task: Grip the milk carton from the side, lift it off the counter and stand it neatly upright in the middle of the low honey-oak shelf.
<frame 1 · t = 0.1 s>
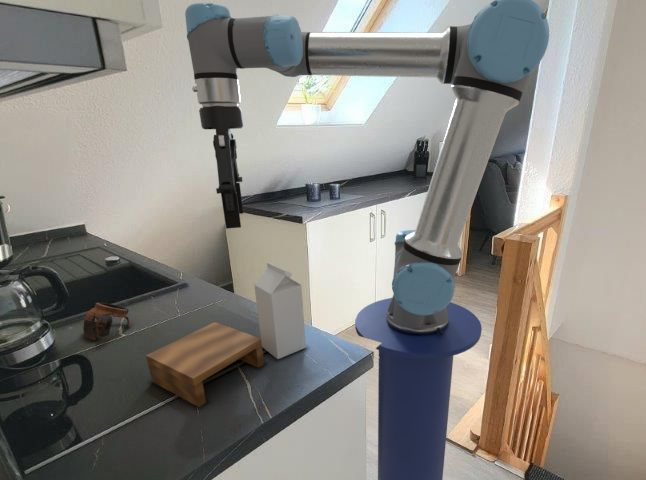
hand: (235, 220, 82), 28 cm above the counter, tool pointing down, fingers open, 13 cm apart
oak shelf: (210, 372, 80), on the counter
pottery mug: (108, 333, 97), on the counter
milk carton: (283, 348, 89), on the counter
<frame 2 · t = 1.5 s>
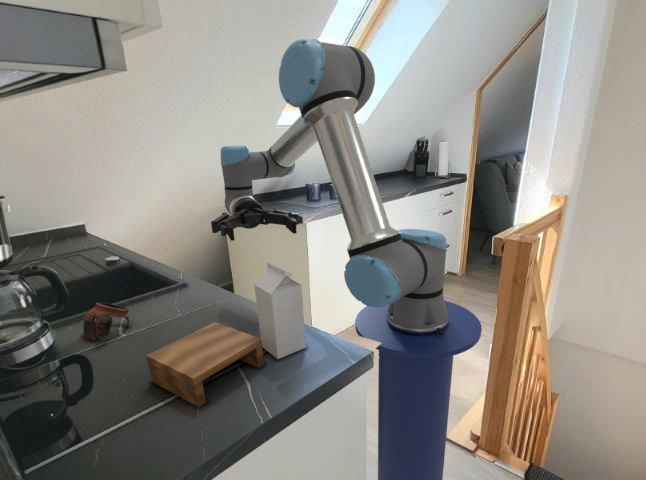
hand: (264, 230, 87), 24 cm above the counter, tool horizontal, fingers open, 13 cm apart
nothing on the counter moved.
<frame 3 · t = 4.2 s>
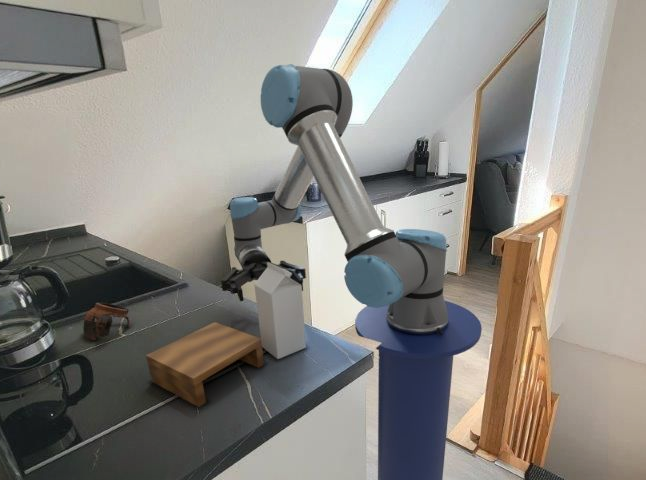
hand: (272, 290, 91), 11 cm above the counter, tool horizontal, fingers open, 13 cm apart
nothing on the counter moved.
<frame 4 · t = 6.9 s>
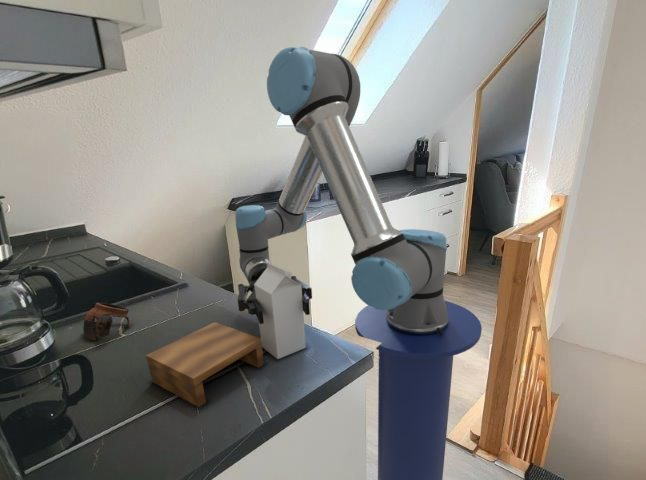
hand: (284, 313, 81), 10 cm above the counter, tool horizontal, fingers closed on milk carton, 9 cm apart
milk carton: (283, 348, 89), on the counter, touching gripper
everything else where it was.
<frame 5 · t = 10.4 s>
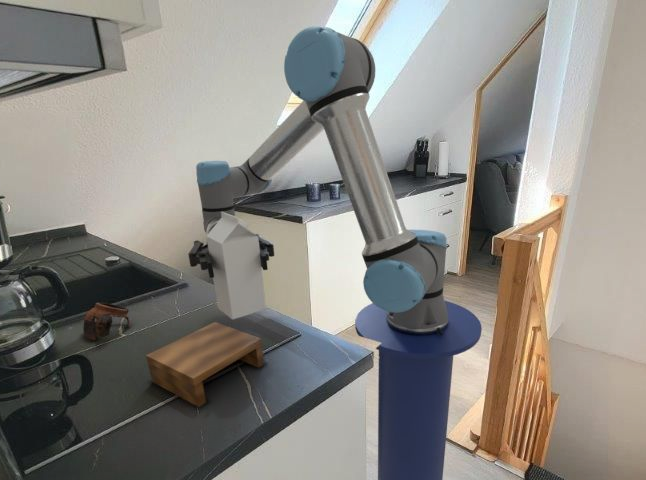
hand: (238, 266, 73), 22 cm above the counter, tool horizontal, fingers closed on milk carton, 9 cm apart
milk carton: (241, 310, 81), point 11 cm above the counter, touching gripper
everything else where it was.
when the fingers open (16 cm above the counter, at t = 13.7 s): milk carton stays where it is, resting on oak shelf.
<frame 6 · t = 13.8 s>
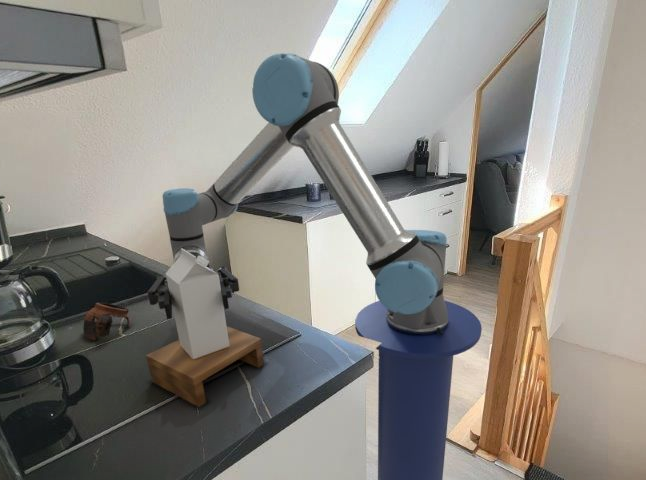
hand: (197, 306, 70), 16 cm above the counter, tool horizontal, fingers open, 9 cm apart
milk carton: (205, 347, 78), point 6 cm above the counter, touching oak shelf
everything else where it was.
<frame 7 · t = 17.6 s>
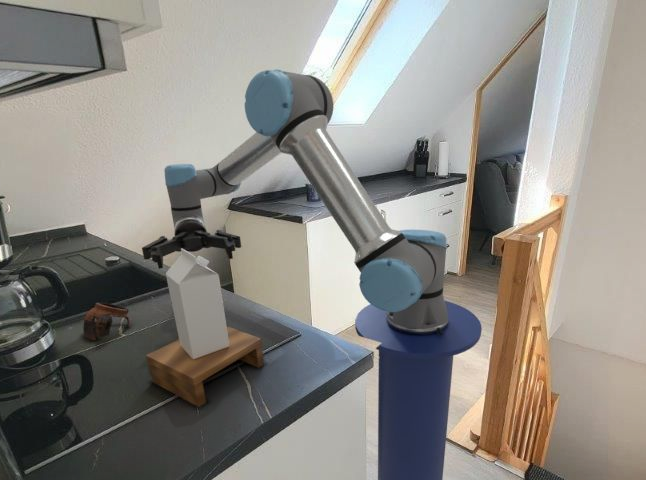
hand: (195, 257, 82), 21 cm above the counter, tool horizontal, fingers open, 13 cm apart
nothing on the counter moved.
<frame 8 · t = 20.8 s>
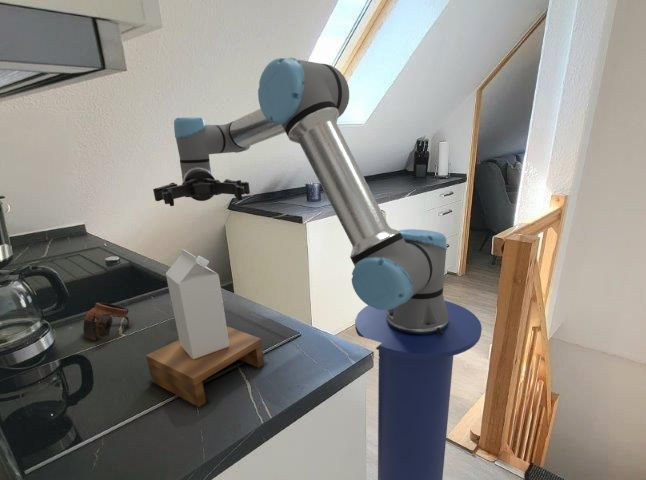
hand: (206, 196, 84), 32 cm above the counter, tool horizontal, fingers open, 13 cm apart
nothing on the counter moved.
at the end: milk carton inside the target area on the oak shelf (0.1 cm from its centre), point 5.8 cm above the oak shelf's base; milk carton tilted 0°; the gripper is holding nothing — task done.
